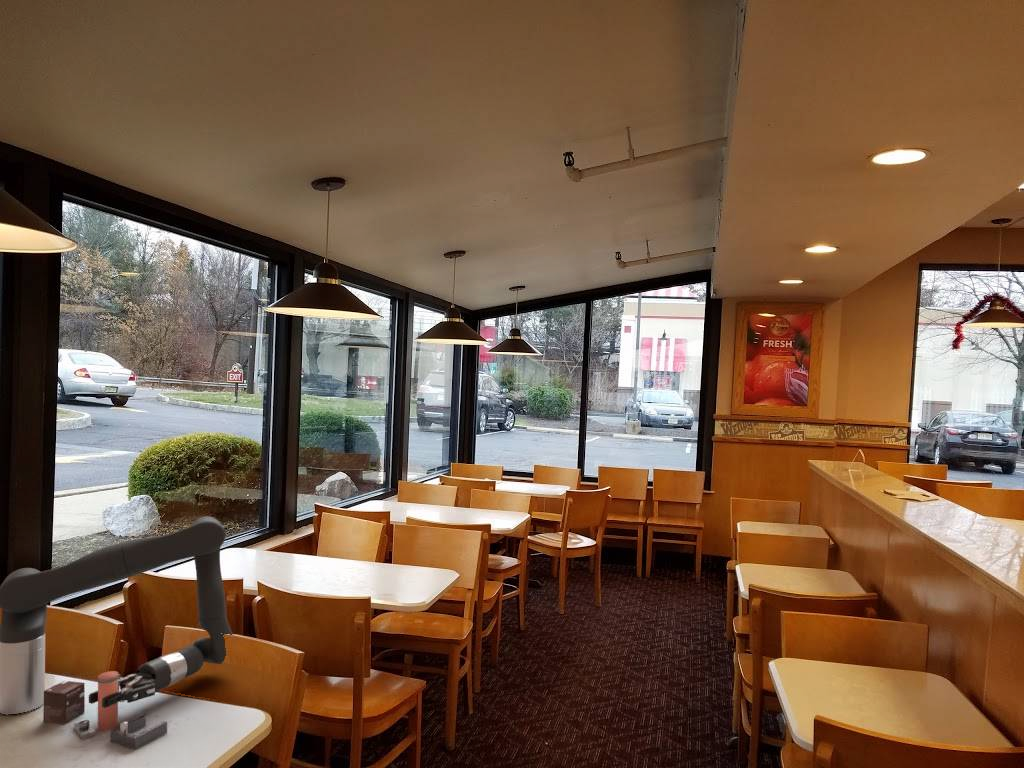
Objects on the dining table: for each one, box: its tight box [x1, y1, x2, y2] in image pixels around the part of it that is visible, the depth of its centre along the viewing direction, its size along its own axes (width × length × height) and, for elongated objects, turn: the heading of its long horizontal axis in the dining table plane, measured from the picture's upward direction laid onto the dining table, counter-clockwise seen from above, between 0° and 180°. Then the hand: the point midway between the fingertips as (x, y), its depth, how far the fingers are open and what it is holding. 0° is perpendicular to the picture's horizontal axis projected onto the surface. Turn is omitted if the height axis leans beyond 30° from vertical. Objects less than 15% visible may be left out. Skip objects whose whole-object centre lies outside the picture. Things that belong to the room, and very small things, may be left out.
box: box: [42, 680, 86, 725], centre depth 163 cm, size 6×6×7 cm
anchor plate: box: [73, 719, 96, 740], centre depth 156 cm, size 7×2×2 cm, turn 46°
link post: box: [97, 670, 120, 732], centre depth 159 cm, size 4×4×12 cm
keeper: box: [109, 714, 168, 751], centre depth 154 cm, size 8×8×5 cm
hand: (96, 701), depth 156 cm, fingers closed on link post, 4 cm apart
